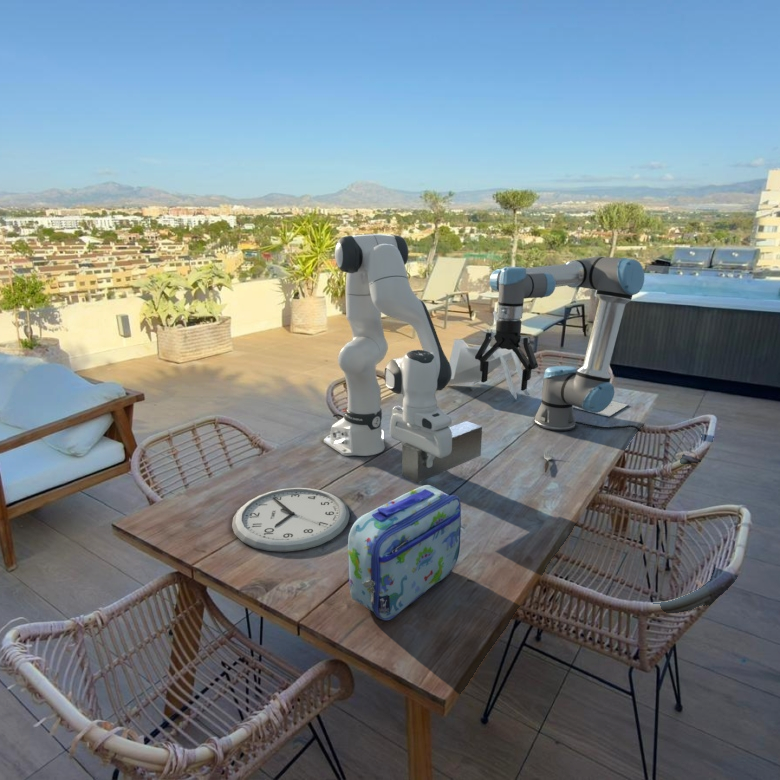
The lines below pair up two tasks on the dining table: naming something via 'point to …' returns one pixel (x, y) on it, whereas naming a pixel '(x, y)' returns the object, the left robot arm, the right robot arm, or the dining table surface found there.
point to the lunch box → (403, 549)
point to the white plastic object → (469, 367)
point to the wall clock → (290, 519)
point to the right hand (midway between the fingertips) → (503, 385)
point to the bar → (463, 450)
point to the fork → (547, 459)
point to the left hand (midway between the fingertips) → (418, 462)
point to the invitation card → (609, 408)
